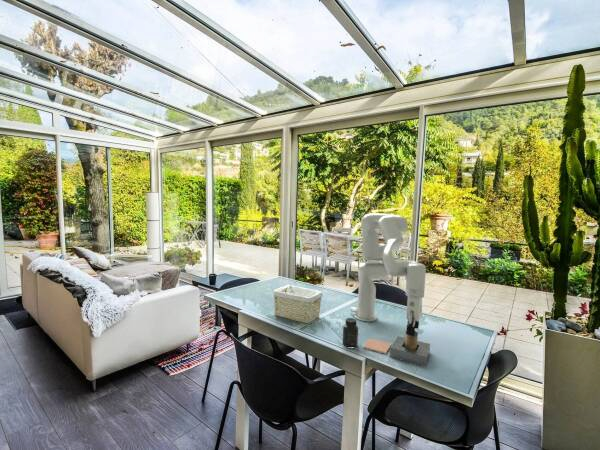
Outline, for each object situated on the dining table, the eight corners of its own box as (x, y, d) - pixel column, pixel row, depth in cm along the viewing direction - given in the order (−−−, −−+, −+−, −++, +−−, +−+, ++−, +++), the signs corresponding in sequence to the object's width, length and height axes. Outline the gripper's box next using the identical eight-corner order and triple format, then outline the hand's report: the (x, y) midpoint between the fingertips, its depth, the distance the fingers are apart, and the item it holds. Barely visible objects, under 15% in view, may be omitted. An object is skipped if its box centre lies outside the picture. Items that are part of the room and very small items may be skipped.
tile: (363, 348, 138) (363, 346, 138) (370, 340, 147) (370, 338, 147) (385, 354, 133) (385, 352, 133) (391, 345, 142) (391, 343, 142)
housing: (389, 356, 132) (390, 347, 131) (397, 344, 144) (397, 335, 143) (424, 366, 125) (425, 357, 124) (429, 352, 137) (430, 344, 136)
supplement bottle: (340, 342, 144) (342, 316, 143) (355, 342, 144) (356, 317, 143) (344, 349, 137) (345, 322, 136) (359, 349, 137) (360, 322, 136)
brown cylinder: (402, 355, 133) (404, 332, 133) (405, 350, 138) (406, 329, 137) (415, 358, 131) (416, 335, 130) (417, 354, 135) (418, 331, 134)
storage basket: (271, 315, 173) (272, 289, 172) (287, 307, 187) (288, 283, 186) (307, 325, 161) (309, 298, 160) (322, 316, 175) (323, 291, 174)
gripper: (420, 298, 123) (418, 340, 124) (427, 289, 138) (424, 327, 139) (401, 295, 126) (399, 336, 127) (409, 286, 141) (407, 323, 142)
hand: (412, 331), depth 133 cm, fingers open, 9 cm apart
